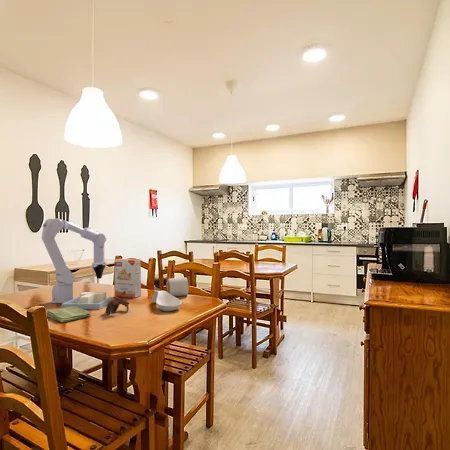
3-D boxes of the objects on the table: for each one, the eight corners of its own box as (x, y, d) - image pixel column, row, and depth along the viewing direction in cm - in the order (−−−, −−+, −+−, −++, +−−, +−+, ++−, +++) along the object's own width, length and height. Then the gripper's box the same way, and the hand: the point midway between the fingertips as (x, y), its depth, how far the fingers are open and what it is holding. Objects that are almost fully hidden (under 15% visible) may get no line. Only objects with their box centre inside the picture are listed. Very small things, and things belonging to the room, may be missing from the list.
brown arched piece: (105, 311, 147) (115, 295, 149) (124, 320, 147) (133, 304, 149) (99, 311, 135) (109, 293, 138) (119, 321, 135) (129, 303, 138)
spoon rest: (186, 310, 146) (185, 295, 146) (161, 314, 139) (161, 298, 139) (166, 301, 166) (166, 287, 166) (144, 304, 159) (144, 290, 159)
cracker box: (114, 296, 177) (113, 259, 178) (121, 294, 183) (121, 258, 183) (134, 298, 172) (134, 260, 172) (141, 296, 178) (141, 258, 178)
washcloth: (61, 325, 127) (61, 316, 127) (44, 317, 138) (44, 310, 138) (93, 317, 137) (92, 310, 137) (74, 311, 148) (74, 304, 148)
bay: (61, 309, 150) (61, 304, 150) (77, 301, 166) (77, 296, 166) (99, 309, 150) (99, 303, 150) (112, 301, 165) (112, 296, 165)
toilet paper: (170, 298, 171) (170, 279, 172) (167, 294, 181) (167, 277, 181) (188, 296, 175) (188, 278, 175) (184, 293, 184) (184, 276, 184)
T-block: (72, 307, 153) (71, 297, 153) (83, 301, 165) (83, 292, 165) (96, 307, 153) (96, 297, 153) (106, 301, 165) (106, 292, 165)
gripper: (100, 255, 173) (100, 280, 173) (110, 253, 187) (111, 276, 187) (87, 255, 173) (88, 280, 173) (99, 253, 188) (99, 276, 187)
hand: (99, 278), depth 180 cm, fingers closed
